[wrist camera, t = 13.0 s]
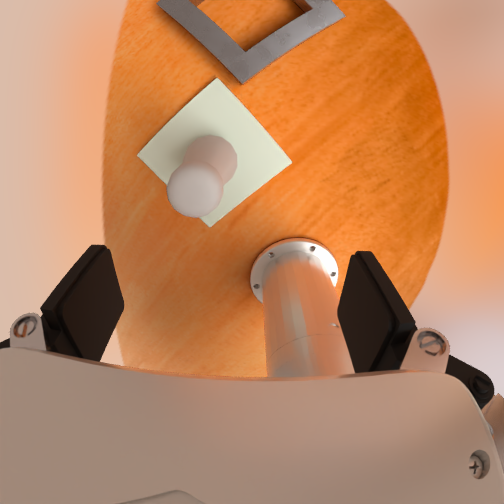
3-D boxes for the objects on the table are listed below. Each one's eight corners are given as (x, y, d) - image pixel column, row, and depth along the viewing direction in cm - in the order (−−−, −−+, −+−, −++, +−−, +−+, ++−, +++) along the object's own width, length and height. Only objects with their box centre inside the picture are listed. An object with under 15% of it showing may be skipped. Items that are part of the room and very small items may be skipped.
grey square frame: (337, 22, 22) (345, 16, 20) (243, 85, 27) (242, 83, 25) (258, -52, 17) (258, -62, 14) (163, 10, 21) (156, 3, 19)
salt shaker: (225, 188, 33) (213, 242, 22) (181, 170, 31) (144, 215, 20) (246, 144, 30) (245, 174, 19) (199, 124, 29) (168, 143, 18)
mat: (291, 160, 32) (292, 162, 31) (210, 224, 36) (209, 227, 35) (218, 78, 27) (217, 77, 26) (139, 153, 31) (136, 155, 30)
